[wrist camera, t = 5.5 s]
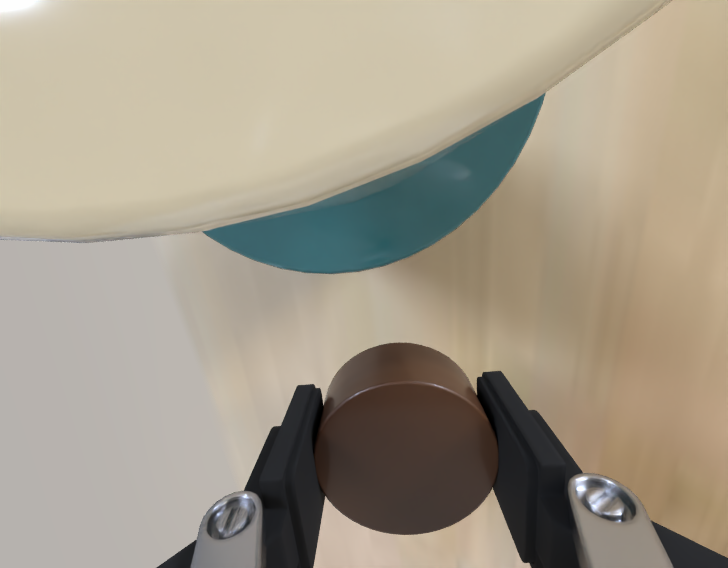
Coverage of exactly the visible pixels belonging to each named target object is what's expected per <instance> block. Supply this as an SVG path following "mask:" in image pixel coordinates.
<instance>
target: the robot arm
mask: <svg viewBox="0 0 728 568" xmlns="http://www.w3.org/2000/svg"><path fill="white" fill-rule="evenodd" d="M477 397H478V399H479V401H480V403H481V405H482V407H483V409H484V411H485V413H486V415H487V417H488V419H489V421H490V423H491V425H492V427H493V429H494V431H495V434H496V437H497V440H498V474H497V477H496V480H495V483H494V485H493V490H494V492H495V495H496V497H497V500H498V502H499V505H500V507H501V510H502V512H503V515H504V518H505V520H506V523H507V525H508V528H509V530H510V533H511V535H512V538H513V540H514V543H515V545H516V548H517V550H518V553H519V555H520V558H521V560H522V561H523V562H524V563H530V566H531V568H728V558H726V557H724V556H722V555H720V554H718V553H716V552H714V551H712V550H710V549H708V548H706V547H704V546H702V545H700V544H698V543H696V542H694V541H692V540H690V539H688V538H686V537H684V536H681V535H679V534H677V533H675V532H673V531H671V530H669V529H667V528H665V527H663V526H661V525H659V524H657V523H655V522H653V521H651V520H650V518H649V516H648V514H647V512H646V510H645V508H644V506H643V504H642V503H641V501H640V500H639V499H638V497H637V496H636V495H635V494H634V493H633V492H632V491H631V490H630V489H628V488H627V487H625V486H624V485H622V484H621V483H619V482H618V481H616V480H613V479H611V478H609V477H607V476H603V475H599V474H595V473H583V472H582V471H581V469H580V468H579V467H578V465H577V464H576V462H575V461H574V460H573V458H572V457H571V456H570V454H569V453H568V452H567V450H566V449H565V448H564V446H563V445H562V444H561V442H560V441H559V439H558V438H557V437H556V435H555V434H554V433H553V431H552V430H551V429H550V427H549V426H548V425H547V423H546V422H545V420H544V419H543V418H542V416H541V415H540V414H539V413H538V412H537V411H535V410H528V409H527V407H526V406H525V404H524V403H523V402H522V400H521V399H520V397H519V396H518V394H517V393H516V392H515V390H514V389H513V387H512V386H511V384H510V383H509V382H508V380H507V379H506V377H505V376H504V374H503V373H502V372H501V371H493V372H483V374H482V377H478V378H477ZM322 411H323V400H322V394H321V389H320V388H315V385H314V384H310V385H298V386H297V388H296V390H295V393H294V395H293V398H292V400H291V403H290V405H289V407H288V410H287V412H286V415H285V417H284V420H283V422H282V425H281V426H275V427H273V428H272V429H271V431H270V433H269V435H268V437H267V439H266V442H265V444H264V446H263V449H262V451H261V453H260V455H259V458H258V460H257V462H256V464H255V467H254V469H253V471H252V473H251V476H250V478H249V480H248V482H247V485H246V487H245V489H244V491H240V492H234V493H232V494H229V495H227V496H225V497H223V498H222V499H220V500H219V501H217V502H216V503H215V504H214V505H213V506H212V507H211V508H210V509H209V510H208V511H207V513H206V515H205V516H204V517H203V519H202V522H201V525H200V528H199V532H198V537H197V540H195V541H194V542H192V543H191V544H190V545H188V546H187V547H185V548H184V549H182V550H181V551H180V552H178V553H177V554H175V555H174V556H173V557H171V558H170V559H168V560H167V561H166V562H164V563H163V564H161V565H160V566H158V567H157V568H313V566H314V560H315V554H316V548H317V542H318V536H319V530H320V524H321V518H322V512H323V506H324V500H325V494H324V493H323V491H322V489H321V487H320V485H319V483H318V478H317V473H316V467H315V461H314V444H315V439H316V435H317V431H318V427H319V423H320V419H321V415H322Z"/></svg>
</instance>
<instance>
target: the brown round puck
mask: <svg viewBox="0 0 728 568" xmlns="http://www.w3.org/2000/svg"><path fill="white" fill-rule="evenodd" d="M314 461H315V467H316V473H317V478H318V483H319V485H320V487H321V489H322V491H323V493H324V494H325V496H326V497H327V499H328V500H329V501H330V502H331V503H332V504H333V506H334V507H335V508H336V509H338V510H339V511H340V512H341V513H342V514H343V515H345V516H346V517H348V518H349V519H351V520H352V521H354V522H356V523H358V524H360V525H362V526H365V527H367V528H370V529H372V530H376V531H380V532H384V533H390V534H400V535H414V534H423V533H429V532H433V531H437V530H440V529H443V528H446V527H449V526H451V525H453V524H455V523H457V522H459V521H461V520H462V519H464V518H465V517H467V516H468V515H470V514H471V513H472V512H473V511H474V510H476V509H477V508H478V507H479V506H480V505H481V503H482V502H483V501H484V500H485V499H486V497H487V496H488V494H489V493H490V491H491V489H492V487H493V485H494V483H495V480H496V477H497V474H498V440H497V437H496V434H495V431H494V429H493V427H492V425H491V423H490V421H489V419H488V417H487V415H486V413H485V411H484V409H483V407H482V405H481V403H480V401H479V399H478V397H477V395H476V393H475V391H474V389H473V387H472V385H471V383H470V381H469V379H468V377H467V376H466V374H465V373H464V372H463V370H462V369H461V368H460V367H459V366H458V365H457V364H456V363H455V362H454V361H452V360H451V359H450V358H449V357H447V356H446V355H444V354H442V353H441V352H439V351H436V350H434V349H432V348H429V347H426V346H422V345H418V344H412V343H389V344H383V345H379V346H376V347H373V348H369V349H367V350H365V351H363V352H361V353H359V354H358V355H356V356H354V357H353V358H351V359H350V360H349V361H348V362H347V363H345V364H344V365H343V366H342V367H341V369H340V370H339V371H338V372H337V373H336V375H335V376H334V378H333V380H332V382H331V384H330V386H329V388H328V391H327V394H326V398H325V402H324V406H323V411H322V415H321V419H320V423H319V427H318V431H317V435H316V439H315V444H314Z"/></svg>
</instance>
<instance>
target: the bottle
mask: <svg viewBox="0 0 728 568" xmlns="http://www.w3.org/2000/svg"><path fill="white" fill-rule="evenodd" d="M671 1H672V0H0V240H23V241H48V242H49V241H50V242H74V243H93V242H103V241H114V240H123V239H134V238H144V237H155V236H166V235H176V234H186V233H197V232H203V233H204V234H206V235H207V236H208V237H210V238H212V239H213V240H215V241H217V242H218V243H220V244H222V245H223V246H225V247H227V248H228V249H230V250H232V251H234V252H236V253H239V254H241V255H243V256H245V257H248V258H250V259H252V260H254V261H257V262H260V263H263V264H267V265H270V266H273V267H277V268H280V269H285V270H291V271H297V272H303V273H314V274H341V273H353V272H361V271H365V270H370V269H374V268H379V267H383V266H386V265H389V264H392V263H395V262H397V261H400V260H403V259H406V258H409V257H411V256H413V255H414V254H416V253H418V252H420V251H422V250H424V249H426V248H428V247H430V246H432V245H434V244H435V243H437V242H438V241H440V240H441V239H443V238H444V237H446V236H447V235H449V234H450V233H451V232H453V231H454V230H456V229H457V228H458V227H459V226H460V225H462V224H463V223H464V222H465V221H466V220H467V219H468V218H470V217H471V216H472V215H473V214H474V213H475V212H476V211H477V210H478V209H479V208H480V207H481V206H482V205H483V204H484V203H485V202H486V200H487V199H488V198H489V197H490V196H491V195H492V194H493V193H494V192H495V190H496V189H497V188H498V187H499V185H500V184H501V182H502V181H503V179H504V178H505V177H506V175H507V174H508V172H509V171H510V170H511V168H512V167H513V165H514V164H515V162H516V160H517V158H518V157H519V155H520V153H521V151H522V149H523V147H524V145H525V144H526V142H527V140H528V138H529V136H530V134H531V132H532V129H533V127H534V124H535V122H536V119H537V117H538V114H539V112H540V109H541V107H542V104H543V100H544V96H545V93H546V92H547V91H548V90H550V89H551V88H552V87H554V86H555V85H557V84H558V83H559V82H561V81H562V80H563V79H565V78H566V77H568V76H569V75H570V74H572V73H573V72H575V71H576V70H577V69H579V68H580V67H582V66H583V65H584V64H586V63H587V62H588V61H590V60H591V59H593V58H594V57H595V56H597V55H598V54H600V53H601V52H602V51H604V50H605V49H606V48H608V47H609V46H611V45H612V44H613V43H615V42H616V41H618V40H619V39H620V38H622V37H623V36H625V35H626V34H627V33H629V32H630V31H631V30H633V29H634V28H636V27H637V26H638V25H640V24H641V23H643V22H644V21H645V20H647V19H648V18H649V17H651V16H652V15H654V14H655V13H656V12H658V11H659V10H661V9H662V8H663V7H665V6H666V5H668V4H669V3H670V2H671Z"/></svg>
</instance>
